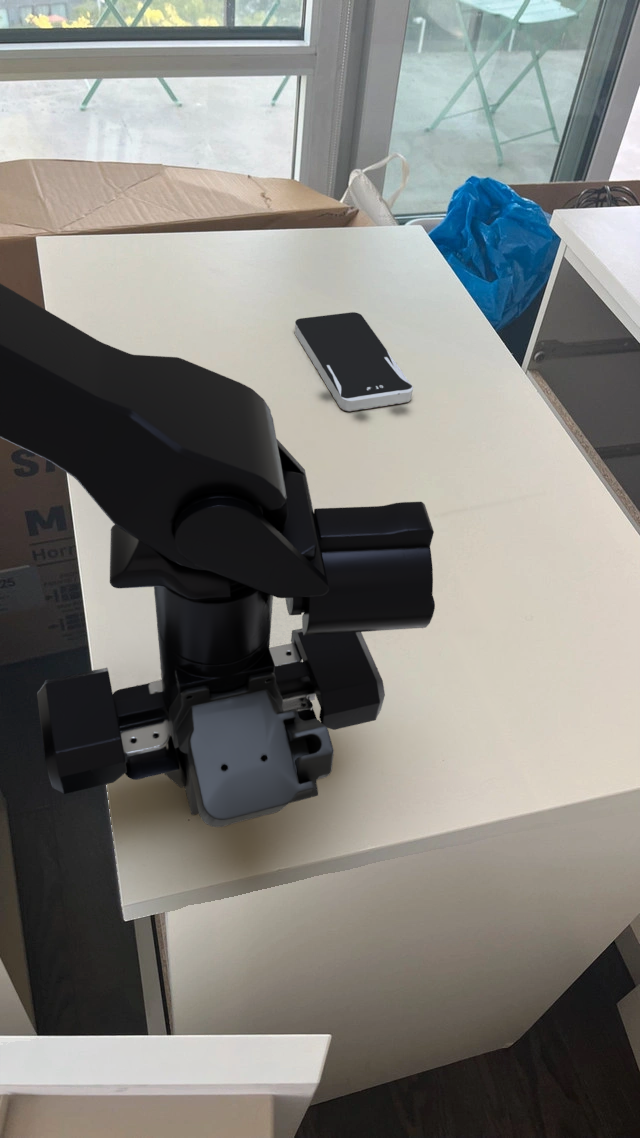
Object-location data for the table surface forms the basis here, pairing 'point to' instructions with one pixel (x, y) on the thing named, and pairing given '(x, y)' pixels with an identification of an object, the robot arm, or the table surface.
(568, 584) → the table surface
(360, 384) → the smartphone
